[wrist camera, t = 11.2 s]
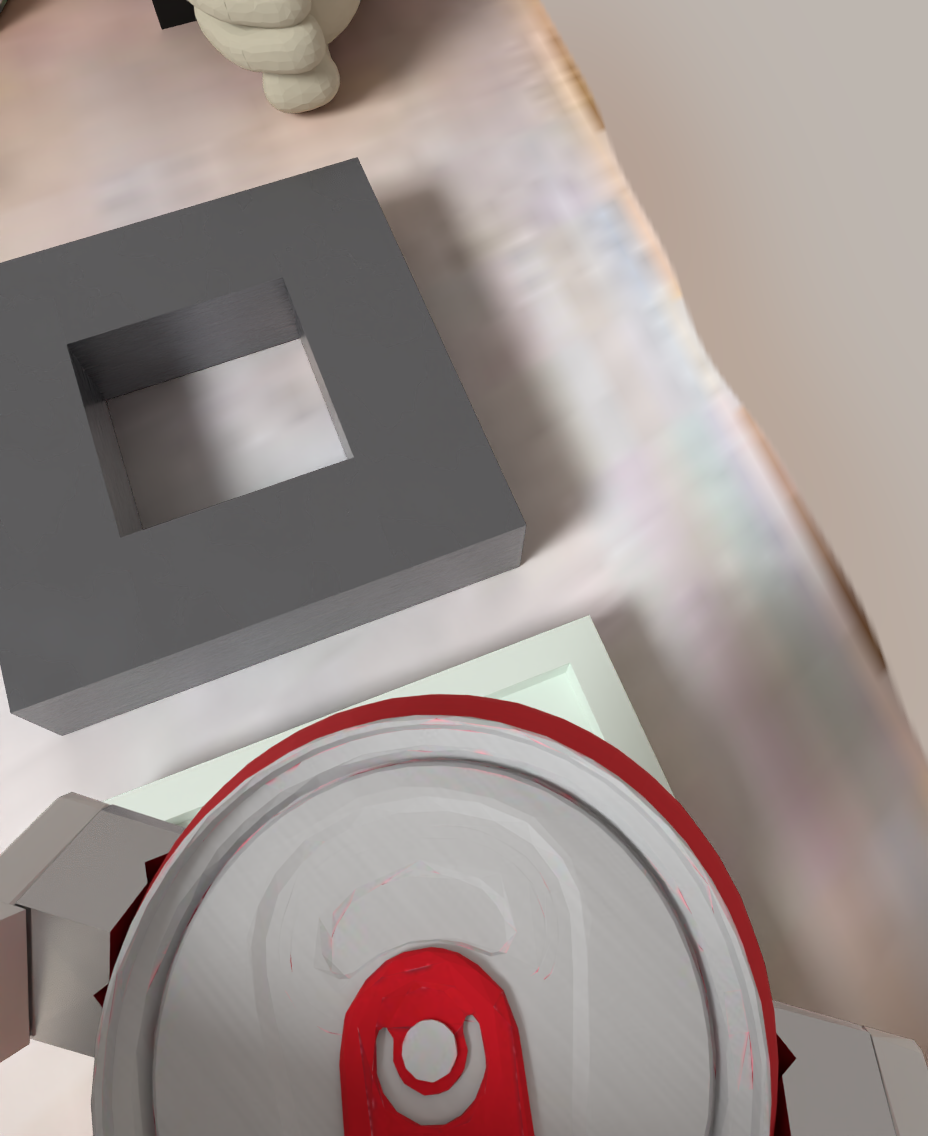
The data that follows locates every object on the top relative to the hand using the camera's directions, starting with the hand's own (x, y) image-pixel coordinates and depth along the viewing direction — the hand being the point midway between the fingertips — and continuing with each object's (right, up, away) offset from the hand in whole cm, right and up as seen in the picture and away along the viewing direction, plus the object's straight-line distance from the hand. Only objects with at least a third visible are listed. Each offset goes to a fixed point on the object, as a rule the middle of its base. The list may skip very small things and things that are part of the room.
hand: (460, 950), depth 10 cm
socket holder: (-8, +8, +23) cm, 26 cm away
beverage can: (0, -4, +8) cm, 9 cm away
